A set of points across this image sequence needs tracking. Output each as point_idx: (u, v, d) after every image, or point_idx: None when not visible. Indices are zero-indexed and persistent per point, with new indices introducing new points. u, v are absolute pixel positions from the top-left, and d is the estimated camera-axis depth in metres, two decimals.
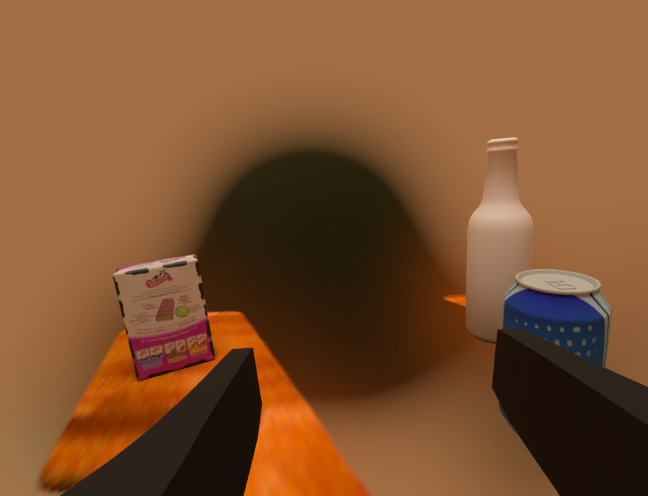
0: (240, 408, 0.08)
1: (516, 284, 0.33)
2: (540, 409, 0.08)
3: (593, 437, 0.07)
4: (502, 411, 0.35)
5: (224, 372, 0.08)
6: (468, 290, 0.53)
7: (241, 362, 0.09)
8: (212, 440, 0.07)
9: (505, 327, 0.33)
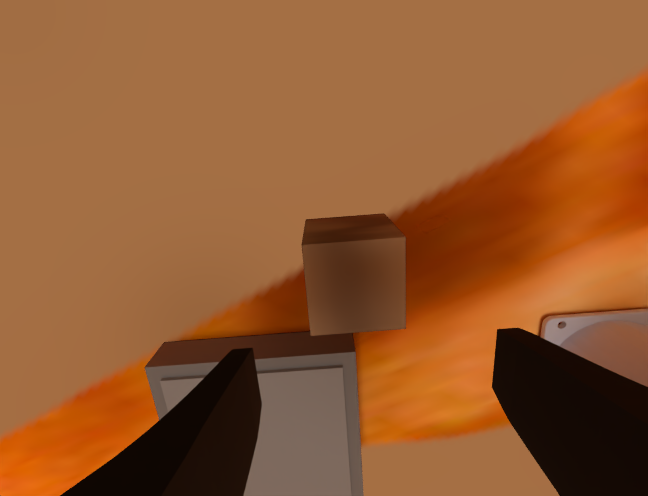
0: (240, 408, 0.08)
1: None
2: (539, 409, 0.08)
3: (593, 437, 0.07)
4: None
5: (224, 372, 0.08)
6: None
7: (241, 362, 0.09)
8: (212, 440, 0.07)
9: None
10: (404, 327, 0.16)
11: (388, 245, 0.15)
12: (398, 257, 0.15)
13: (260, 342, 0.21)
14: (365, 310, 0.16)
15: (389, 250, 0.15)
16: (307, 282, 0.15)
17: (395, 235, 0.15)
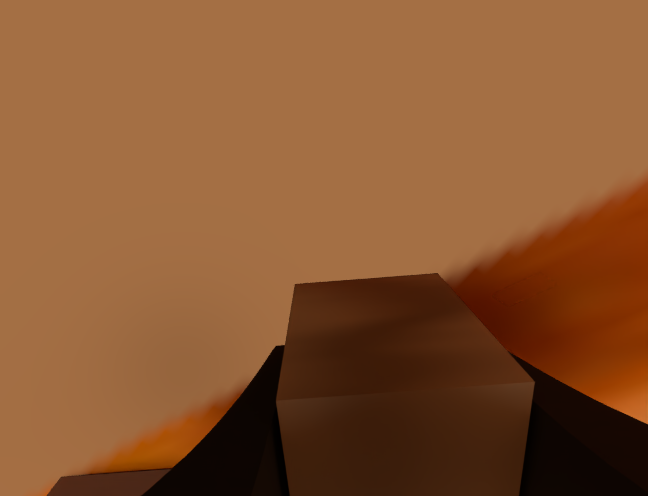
0: None
1: None
2: None
3: (526, 442, 0.07)
4: None
5: (277, 368, 0.08)
6: None
7: None
8: (277, 435, 0.07)
9: None
10: None
11: (489, 399, 0.06)
12: (511, 423, 0.06)
13: None
14: None
15: (492, 411, 0.06)
16: (290, 475, 0.06)
17: (503, 372, 0.06)
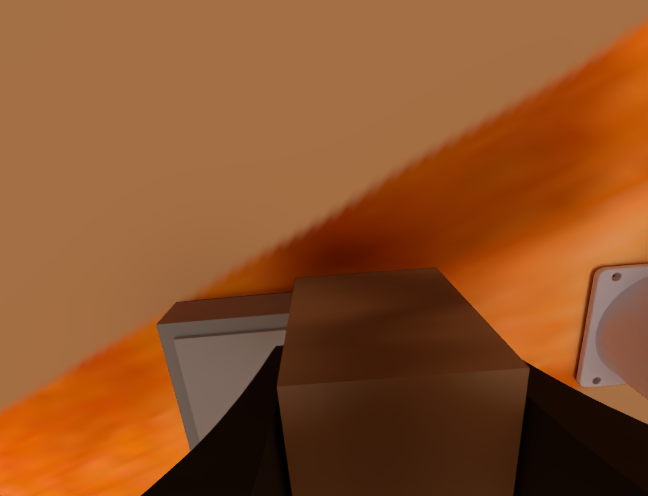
0: None
1: None
2: None
3: (527, 442, 0.07)
4: None
5: (276, 368, 0.08)
6: None
7: None
8: (276, 435, 0.07)
9: None
10: None
11: (485, 384, 0.06)
12: (506, 409, 0.06)
13: (283, 299, 0.19)
14: None
15: (488, 397, 0.06)
16: (290, 461, 0.07)
17: (499, 359, 0.06)
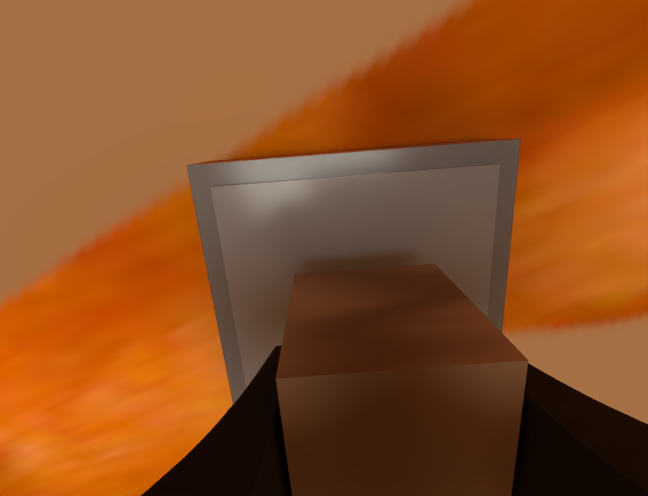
0: None
1: None
2: None
3: (526, 442, 0.07)
4: None
5: (277, 368, 0.08)
6: None
7: None
8: (277, 435, 0.07)
9: None
10: None
11: (484, 377, 0.06)
12: (506, 403, 0.06)
13: (357, 149, 0.14)
14: None
15: (486, 390, 0.06)
16: (290, 454, 0.07)
17: (498, 352, 0.06)
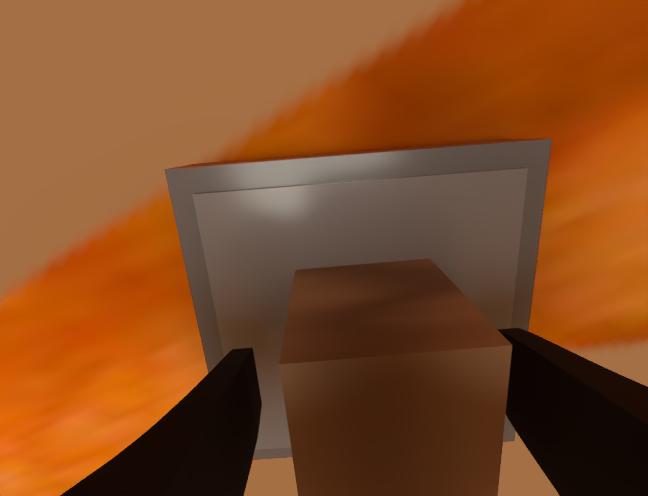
0: (240, 408, 0.08)
1: None
2: (540, 409, 0.08)
3: (593, 437, 0.07)
4: None
5: (224, 372, 0.08)
6: None
7: (241, 362, 0.09)
8: (212, 440, 0.07)
9: None
10: None
11: (472, 362, 0.07)
12: (492, 385, 0.07)
13: (361, 151, 0.12)
14: (415, 482, 0.07)
15: (474, 373, 0.07)
16: (292, 435, 0.07)
17: (485, 338, 0.07)
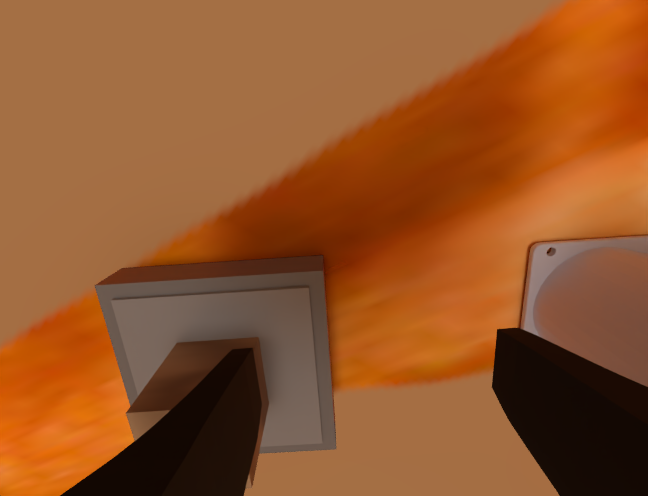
0: (240, 408, 0.08)
1: None
2: (540, 409, 0.08)
3: (593, 437, 0.07)
4: None
5: (224, 372, 0.08)
6: None
7: (241, 362, 0.09)
8: (212, 440, 0.07)
9: None
10: (250, 487, 0.15)
11: None
12: None
13: (223, 266, 0.19)
14: None
15: None
16: None
17: None
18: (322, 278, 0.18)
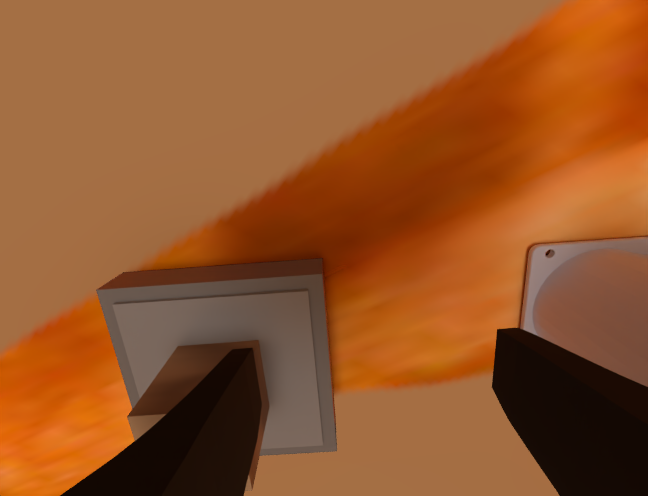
0: (240, 408, 0.08)
1: None
2: (539, 409, 0.08)
3: (593, 437, 0.07)
4: None
5: (224, 372, 0.08)
6: None
7: (241, 362, 0.09)
8: (212, 440, 0.07)
9: None
10: (250, 489, 0.15)
11: None
12: None
13: (223, 270, 0.19)
14: None
15: None
16: None
17: None
18: (321, 281, 0.18)
